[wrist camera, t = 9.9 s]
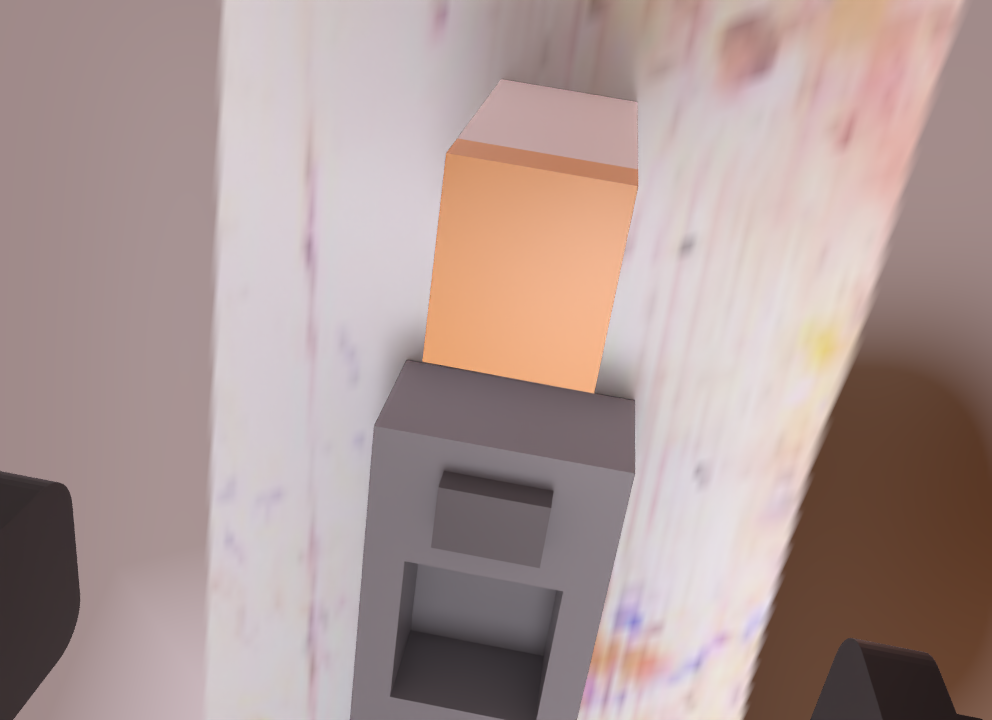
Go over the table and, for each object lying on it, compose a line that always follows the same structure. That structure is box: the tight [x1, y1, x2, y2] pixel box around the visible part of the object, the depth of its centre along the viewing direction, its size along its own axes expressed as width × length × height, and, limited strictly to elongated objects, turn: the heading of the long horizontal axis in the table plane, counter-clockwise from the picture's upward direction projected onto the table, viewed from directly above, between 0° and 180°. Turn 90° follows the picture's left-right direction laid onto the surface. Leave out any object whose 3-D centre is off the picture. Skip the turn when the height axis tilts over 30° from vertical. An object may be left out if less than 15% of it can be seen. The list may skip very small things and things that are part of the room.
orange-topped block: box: [422, 79, 638, 393], centre depth 22 cm, size 4×4×8 cm
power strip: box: [350, 360, 635, 720], centre depth 31 cm, size 22×7×5 cm, turn 173°
